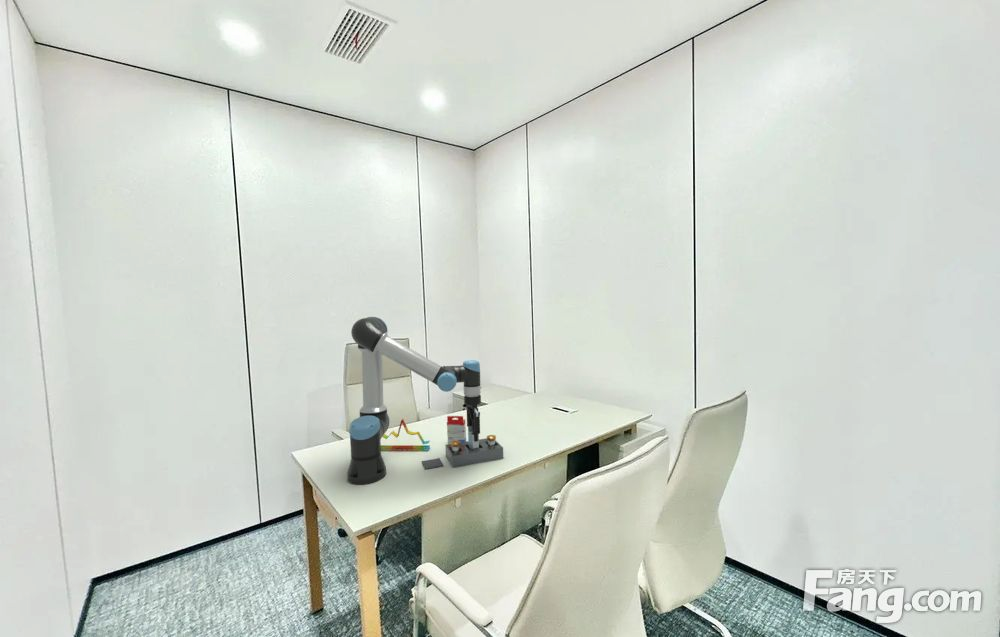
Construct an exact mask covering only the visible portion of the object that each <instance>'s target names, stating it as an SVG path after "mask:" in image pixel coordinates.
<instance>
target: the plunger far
mask: <svg viewBox="0 0 1000 637" xmlns="http://www.w3.org/2000/svg"><path fill="white" fill-rule="evenodd" d="M486 438H487V440H488V446H495V440H496V439H497V436H496V435H494V434H490V435H486Z"/></svg>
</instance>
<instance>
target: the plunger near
mask: <svg viewBox="0 0 1000 637" xmlns="http://www.w3.org/2000/svg"><path fill="white" fill-rule="evenodd" d="M459 445H460V441H452V442H451V446H452V453H454V452H459Z"/></svg>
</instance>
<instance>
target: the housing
mask: <svg viewBox="0 0 1000 637" xmlns="http://www.w3.org/2000/svg"><path fill="white" fill-rule="evenodd" d="M444 450H445V457H446V458H447V460H448V462H449V463H450V465H451V467H452V468H459V467H464V466H469V465H474V464H475V465H476V464H481V463H486V462H487V463H488V462H492V461H498V460H503V459H504V447H503V446H502V445H501V444H500V442H498V441H497V440H496V439H495V446H488V440H487V437H486V438H479V448H478V449H472V450H469V444H468V440H466V442H460V445H459V452H454V453H452V446H451V444H448V443H447V444H445V448H444Z"/></svg>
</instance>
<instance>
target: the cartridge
mask: <svg viewBox="0 0 1000 637" xmlns="http://www.w3.org/2000/svg"><path fill="white" fill-rule="evenodd" d="M471 433H473V429H472V425H470V426H468V427H467V441H468V444H469V450H472V449H473V445H472V434H471ZM478 435H479V436H480V434H478ZM474 449H478V448H474Z"/></svg>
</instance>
